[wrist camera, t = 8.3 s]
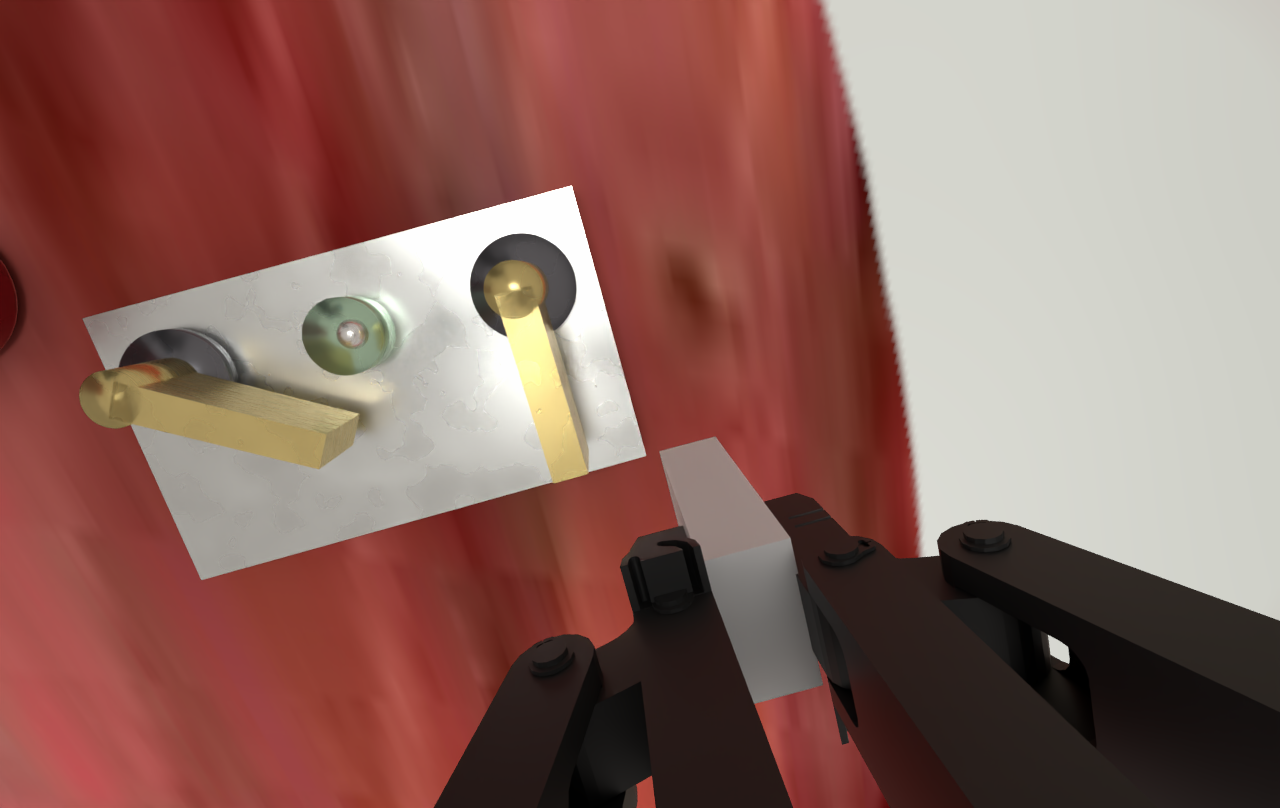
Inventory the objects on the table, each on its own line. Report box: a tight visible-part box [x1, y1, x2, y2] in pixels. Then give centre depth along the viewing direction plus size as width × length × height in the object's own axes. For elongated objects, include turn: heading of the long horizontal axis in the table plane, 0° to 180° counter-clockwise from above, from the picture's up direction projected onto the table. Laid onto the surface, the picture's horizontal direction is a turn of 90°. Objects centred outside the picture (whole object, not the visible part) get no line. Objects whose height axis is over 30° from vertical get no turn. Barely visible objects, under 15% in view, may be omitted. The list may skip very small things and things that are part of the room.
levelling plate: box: [82, 186, 646, 580], centre depth 32 cm, size 14×24×5 cm, turn 106°
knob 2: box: [470, 233, 589, 484], centre depth 30 cm, size 11×5×5 cm, turn 16°
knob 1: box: [79, 328, 360, 469], centre depth 29 cm, size 11×5×5 cm, turn 74°
